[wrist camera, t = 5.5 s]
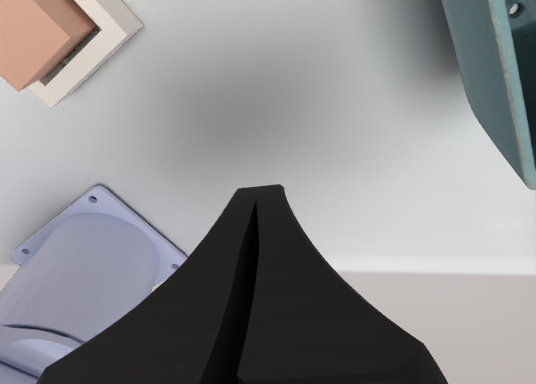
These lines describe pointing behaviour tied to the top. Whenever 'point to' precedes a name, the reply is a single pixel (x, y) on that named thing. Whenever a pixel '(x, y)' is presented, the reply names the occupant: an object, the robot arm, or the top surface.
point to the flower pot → (500, 73)
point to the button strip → (89, 50)
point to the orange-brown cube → (38, 37)
